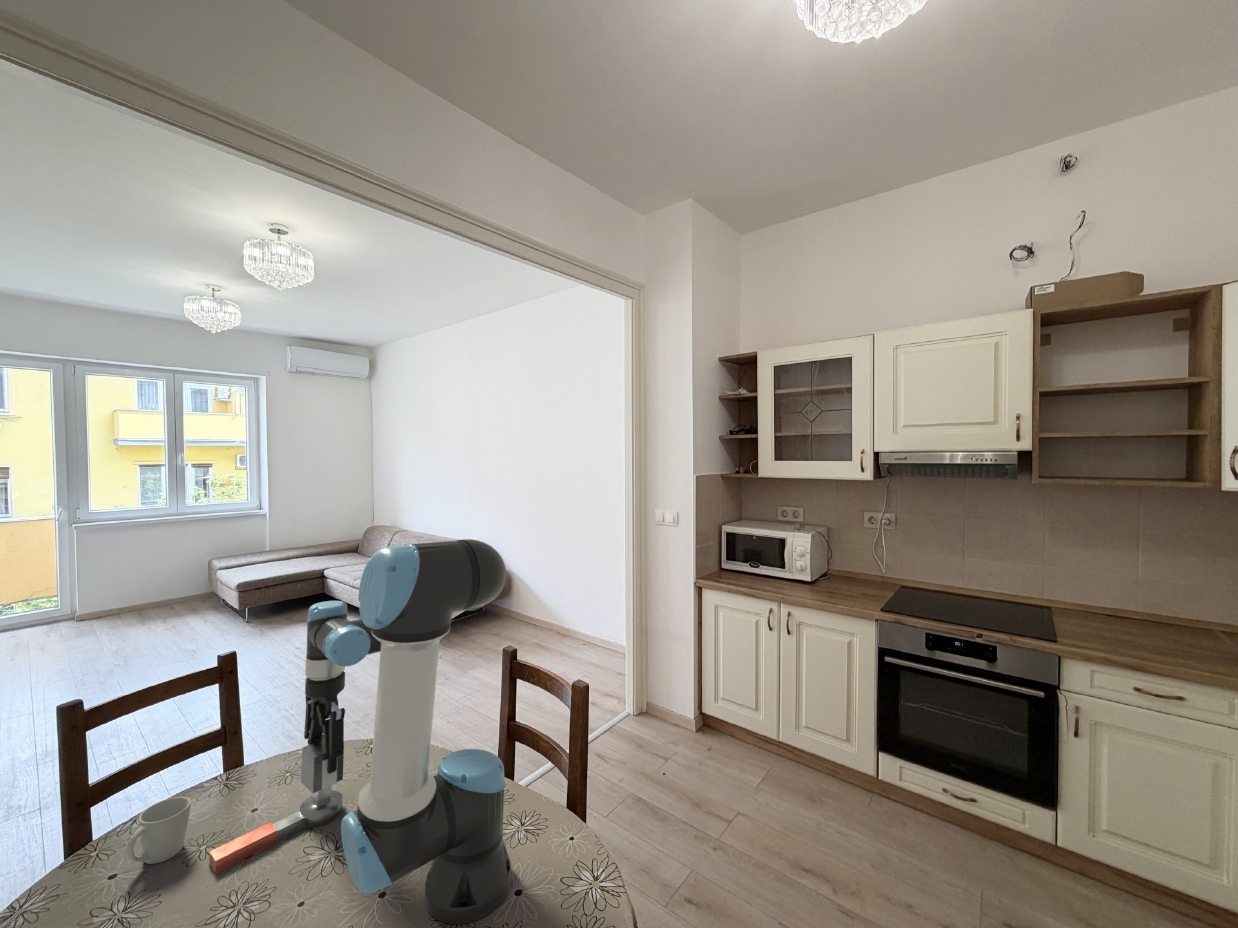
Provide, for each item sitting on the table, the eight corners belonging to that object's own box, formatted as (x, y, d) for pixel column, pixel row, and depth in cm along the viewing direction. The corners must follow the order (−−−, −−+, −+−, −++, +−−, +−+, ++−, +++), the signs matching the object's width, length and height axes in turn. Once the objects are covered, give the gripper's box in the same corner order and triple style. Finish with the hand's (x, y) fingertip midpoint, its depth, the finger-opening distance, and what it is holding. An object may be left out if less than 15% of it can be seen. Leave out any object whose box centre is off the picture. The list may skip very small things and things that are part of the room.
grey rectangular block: (342, 779, 109) (343, 745, 109) (313, 793, 104) (314, 757, 104) (330, 768, 112) (331, 735, 112) (301, 781, 107) (302, 747, 108)
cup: (199, 841, 99) (201, 798, 99) (145, 882, 89) (147, 834, 90) (167, 836, 100) (169, 794, 101) (110, 875, 91) (112, 829, 91)
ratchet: (332, 796, 114) (333, 763, 114) (348, 811, 109) (349, 777, 109) (205, 858, 95) (206, 819, 95) (219, 879, 90) (220, 838, 90)
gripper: (364, 679, 106) (361, 788, 105) (324, 657, 117) (321, 755, 117) (327, 692, 100) (323, 807, 99) (288, 667, 111) (285, 770, 111)
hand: (322, 779), depth 108 cm, fingers closed on grey rectangular block, 6 cm apart
